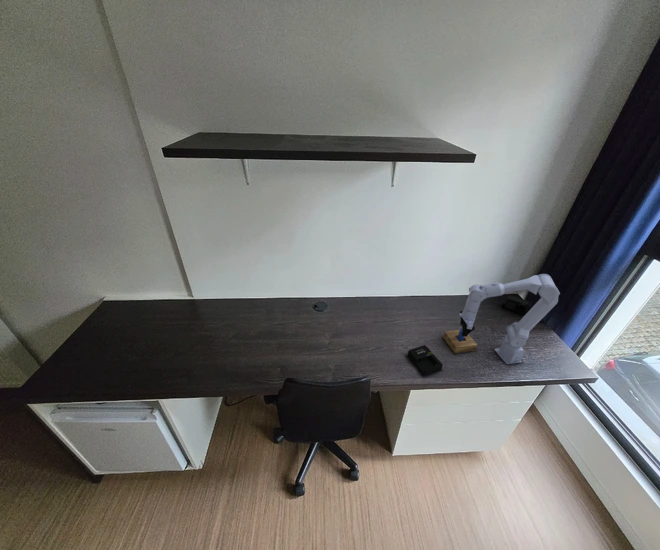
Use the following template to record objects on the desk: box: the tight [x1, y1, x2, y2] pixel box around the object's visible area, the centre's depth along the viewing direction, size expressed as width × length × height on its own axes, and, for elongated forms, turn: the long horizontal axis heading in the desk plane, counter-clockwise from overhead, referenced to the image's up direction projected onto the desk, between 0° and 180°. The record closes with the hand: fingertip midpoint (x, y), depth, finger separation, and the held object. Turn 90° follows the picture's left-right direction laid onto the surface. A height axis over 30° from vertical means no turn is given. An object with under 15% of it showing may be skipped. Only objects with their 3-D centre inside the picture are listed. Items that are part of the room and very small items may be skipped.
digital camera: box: [503, 295, 530, 315], centre depth 168 cm, size 10×5×7 cm, turn 55°
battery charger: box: [407, 344, 443, 377], centre depth 134 cm, size 13×10×4 cm
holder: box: [442, 329, 478, 354], centre depth 145 cm, size 11×11×4 cm
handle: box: [457, 328, 465, 341], centre depth 143 cm, size 3×3×9 cm
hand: (463, 330), depth 141 cm, fingers open, 7 cm apart
